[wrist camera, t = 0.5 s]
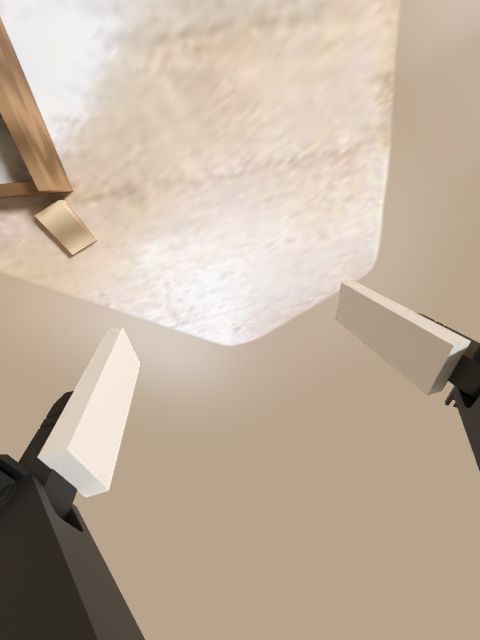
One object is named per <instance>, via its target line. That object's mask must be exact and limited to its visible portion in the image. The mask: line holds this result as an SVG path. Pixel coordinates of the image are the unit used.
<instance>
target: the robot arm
mask: <svg viewBox="0 0 480 640" xmlns="http://www.w3.org/2000/svg"><path fill="white" fill-rule="evenodd" d="M336 320H337V321H338V322H339V323H340V324H342V325H343V326H344V327H345V328H346V329H348V330H349V331H350V332H351V333H352V334H354V335H355V336H356V337H357V338H358V339H360V340H361V341H362V342H363V343H365V344H366V345H367V346H368V347H369V348H371V349H372V350H373V351H374V352H375V353H377V354H378V355H379V356H380V357H381V358H383V359H384V360H385V361H386V362H388V363H389V364H390V365H391V366H392V367H394V368H395V369H396V370H397V371H398V372H400V373H401V374H402V375H403V376H405V377H406V378H407V379H408V380H409V381H410V382H412V383H413V384H414V385H416V387H418V388H419V389H420V390H422V391H423V392H424V393H425V394H426V395H430V394H433V393H436V392H440V391H442V390H443V388H444V387H445V385H446V383H447V381H449V382H451V383H452V384H453V385H455V386H454V388H453V389H452V391H451V392H450V394H449V396H448V397H447V399H446V400H445V404H446V405H449V404H450V402H451V401H452V400H455V402H456V403H455V404H454V406H453V407H457V408H458V410H459V413H460V416H461V419H462V422H463V425H464V427H465V430H466V433H467V436H468V439H469V442H470V444H471V447H472V450H473V453H474V456H475V459H476V462H477V465H478V467H479V470H480V343H478V342H476V341H474V340H472V339H470V338H468V337H466V336H464V335H462V334H460V333H458V332H457V331H454V330H453V329H451V328H449V327H447V326H443V324H441V323H439V322H435V321H434V320H433V319H431V318H429V317H427V316H425V315H422V314H419V313H416V312H413V311H411V310H409V309H407V308H405V307H403V306H402V305H400V304H398V303H396V302H394V301H392V300H390V299H388V298H386V297H384V296H382V295H380V294H378V293H376V292H374V291H372V290H370V289H368V288H366V287H364V286H363V285H361V284H359V283H357V282H355V281H353V280H351V281H346V282H341V288H340V295H339V301H338V308H337V314H336ZM139 368H140V362H139V360H138V358H137V356H136V354H135V352H134V350H133V348H132V345H131V344H130V341H129V339H128V337H127V335H126V333H125V331H124V329H123V327H119V328H114V329H109V330H107V332H106V334H105V336H104V337H103V339H102V341H101V343H100V345H99V346H98V348H97V350H96V352H95V354H94V355H93V357H92V359H91V361H90V363H89V365H88V366H87V368H86V370H85V372H84V374H83V375H82V377H81V379H80V381H79V383H78V385H77V386H76V388H75V390H74V391H71V392H67V393H65V394H64V395H63V396H62V397H61V398H60V399H59V400H58V401H57V402H56V403H55V404H54V405H53V407H52V408H51V410H50V411H49V413H48V415H47V418H46V419H45V420H44V421H43V423H42V424H41V426H40V429H38V431H37V433H36V434H35V436H34V438H33V439H32V441H31V442H30V444H29V446H28V448H27V449H26V451H25V452H24V454H23V456H22V457H21V459H20V461H19V462H17V461H15V460H14V459H13V458H11V457H10V456H9V455H0V640H145V639H144V637H143V635H142V633H141V631H140V629H139V627H138V625H137V623H136V621H135V619H134V617H133V615H132V614H131V611H130V610H129V608H128V606H127V604H126V602H125V600H124V598H123V596H122V594H121V592H120V590H119V588H118V586H117V584H116V582H115V580H114V579H113V577H112V575H111V573H110V571H109V569H108V567H107V565H106V563H105V561H104V559H103V557H102V555H101V554H100V551H99V550H98V548H97V546H96V544H95V542H94V540H93V538H92V536H91V534H90V532H89V530H88V528H87V526H86V524H85V522H84V521H83V518H82V517H81V515H80V513H79V511H78V509H77V507H76V506H74V505H73V504H72V503H73V500H74V498H75V495H76V492H77V491H78V492H79V493H81V494H82V495H83V496H84V497H89V496H92V495H96V494H99V493H103V492H106V491H109V488H110V484H111V480H112V476H113V472H114V468H115V464H116V460H117V456H118V452H119V448H120V444H121V440H122V436H123V432H124V427H125V424H126V420H127V416H128V412H129V407H130V404H131V400H132V396H133V391H134V388H135V384H136V379H137V376H138V372H139Z"/></svg>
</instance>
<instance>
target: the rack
mask: <svg viewBox="0 0 480 640" xmlns="http://www.w3.org/2000/svg"><path fill="white" fill-rule="evenodd" d="M0 113H1V115H2V117H3V119H4V121H5V123H6V125H7V127H8V129H9V131H10V133H11V135H12V138H13V140H14V142H15V144H16V146H17V148H18V150H19V152H20V154H21V156H22V158H23V160H24V162H25V164H26V166H27V168H28V170H29V172H30V174H31V176H32V179H33V181H31V182H19V183H7V184H0V198H5V197H16V196H27V195H38V194H49V193H60V192H71V191H73V190H72V188H71V185H70V183H69V180H68V178H67V176H66V173H65V171H64V168H63V166H62V164H61V161H60V159H59V156H58V154H57V152H56V149H55V147H54V144H53V142H52V140H51V137H50V135H49V132H48V130H47V128H46V125H45V123H44V120H43V118H42V116H41V113H40V111H39V109H38V106H37V104H36V101H35V99H34V97H33V94H32V92H31V89H30V87H29V85H28V82H27V80H26V77H25V75H24V73H23V70H22V68H21V65H20V63H19V61H18V58H17V56H16V53H15V51H14V49H13V46H12V44H11V41H10V39H9V37H8V34H7V32H6V30H5V27H4V25H3V22H2V20H1V18H0Z"/></svg>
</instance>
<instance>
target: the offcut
mask: <svg viewBox="0 0 480 640" xmlns="http://www.w3.org/2000/svg"><path fill="white" fill-rule="evenodd" d="M34 216H35V217H36V218H37V219H38V220H39V221H40V222H41V223H42V224H43V225H44V226H45V227H46V228H47V229H48V230H49V231H50V232H51V233H52V234H53V235H54V236H55V237H56V238H57V239H58V241H59V242H60V243H61V244H62V245H63V246H64V247H65V248H66V249H67V250H68V251H69V252H70V253H71V254H72V255H73V254H75V253H77V252H79V251H80V250H82V249H83V248H85V247H87V246H88V245H90V244H91V243H93V242H95V241H96V240H98V239H97V238H96V237H95V236H94V235H93V233H92V232H91V231H90V230H89V229H88V228H87V226H86V225H85V224H84V223H83V222H82V221H81V220H80V218H79V217H78V216H77V215H76V214H75V213H74V211H73V210H72V209H71V208H70V207H69V206H68V204H67V203H66V202H65V201H64V200H58V201H56V202H55V203H53V204H52V205H50V206H48V207H47V208H45V209H44V210H42V211H41V212H39V213H37V214H36V215H34Z"/></svg>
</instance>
